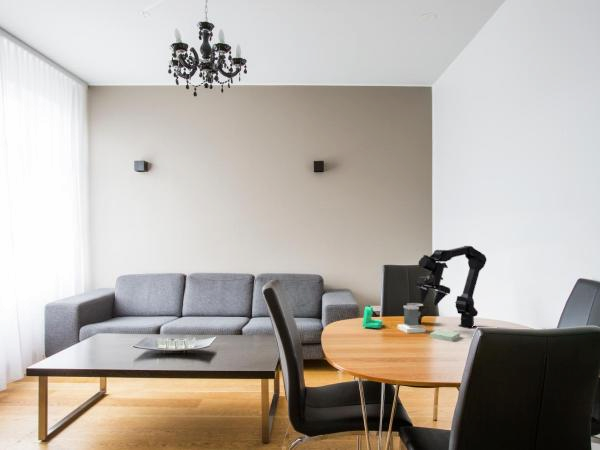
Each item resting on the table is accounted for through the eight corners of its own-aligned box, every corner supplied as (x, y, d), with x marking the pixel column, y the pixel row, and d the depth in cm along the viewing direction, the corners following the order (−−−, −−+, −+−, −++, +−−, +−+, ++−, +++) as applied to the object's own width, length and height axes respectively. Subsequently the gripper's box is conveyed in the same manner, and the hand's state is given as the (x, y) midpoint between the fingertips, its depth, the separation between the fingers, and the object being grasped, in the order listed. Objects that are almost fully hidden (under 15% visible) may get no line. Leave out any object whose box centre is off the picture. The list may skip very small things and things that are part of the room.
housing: (413, 324, 201) (413, 305, 201) (419, 327, 195) (418, 307, 195) (403, 325, 199) (403, 305, 199) (409, 327, 194) (408, 307, 194)
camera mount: (377, 330, 198) (377, 309, 198) (362, 328, 201) (362, 308, 201) (382, 325, 209) (382, 305, 209) (368, 323, 212) (368, 304, 212)
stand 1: (415, 327, 203) (415, 323, 203) (425, 332, 193) (425, 327, 194) (397, 328, 201) (397, 324, 201) (407, 333, 191) (407, 329, 191)
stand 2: (439, 333, 190) (439, 329, 191) (459, 337, 184) (459, 332, 184) (430, 337, 183) (430, 333, 183) (451, 341, 176) (451, 337, 176)
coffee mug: (406, 324, 210) (406, 305, 210) (407, 320, 219) (407, 302, 219) (429, 325, 207) (429, 306, 207) (429, 322, 215) (428, 303, 215)
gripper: (411, 267, 203) (403, 296, 200) (437, 270, 186) (429, 302, 183) (427, 274, 207) (420, 302, 205) (454, 277, 190) (446, 308, 187)
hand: (428, 304), depth 195 cm, fingers open, 9 cm apart
